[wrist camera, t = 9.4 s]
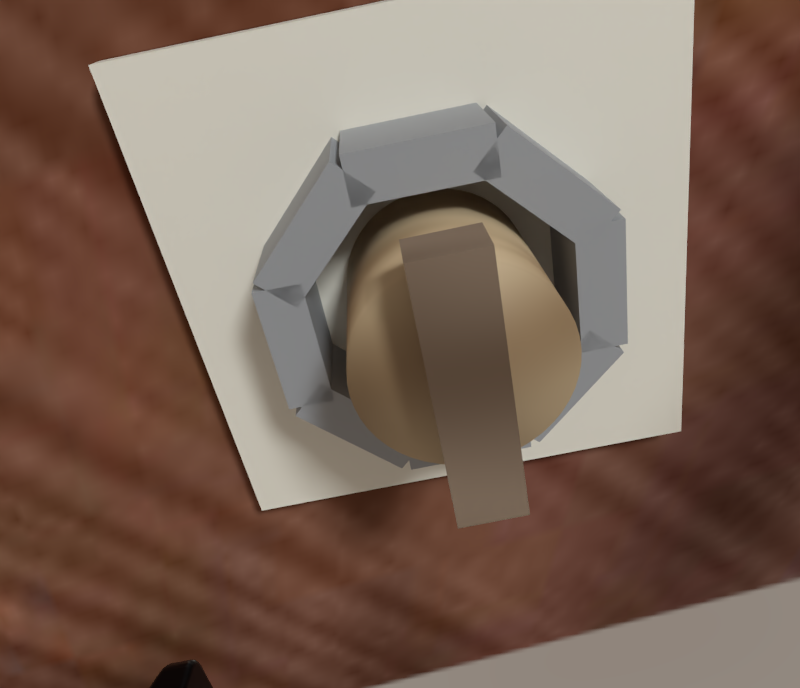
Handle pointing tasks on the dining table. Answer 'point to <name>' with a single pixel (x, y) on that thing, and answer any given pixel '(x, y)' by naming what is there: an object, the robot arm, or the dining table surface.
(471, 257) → the rotary grip knob
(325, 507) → the dining table surface
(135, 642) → the dining table surface
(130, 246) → the dining table surface
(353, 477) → the socket board
